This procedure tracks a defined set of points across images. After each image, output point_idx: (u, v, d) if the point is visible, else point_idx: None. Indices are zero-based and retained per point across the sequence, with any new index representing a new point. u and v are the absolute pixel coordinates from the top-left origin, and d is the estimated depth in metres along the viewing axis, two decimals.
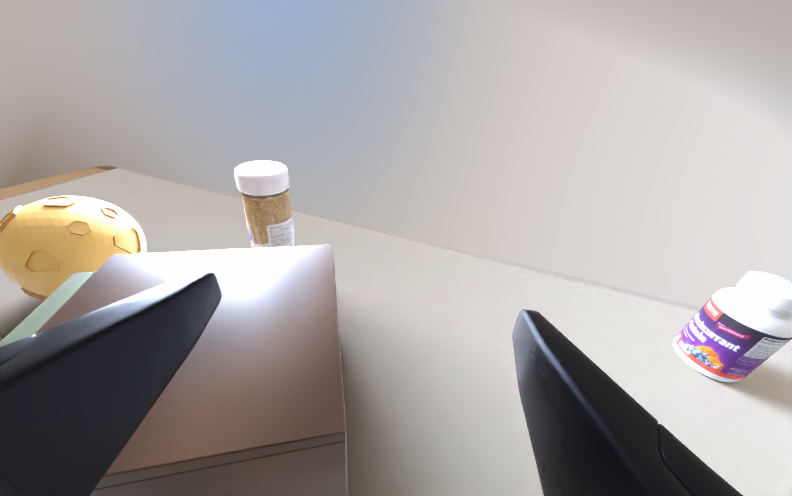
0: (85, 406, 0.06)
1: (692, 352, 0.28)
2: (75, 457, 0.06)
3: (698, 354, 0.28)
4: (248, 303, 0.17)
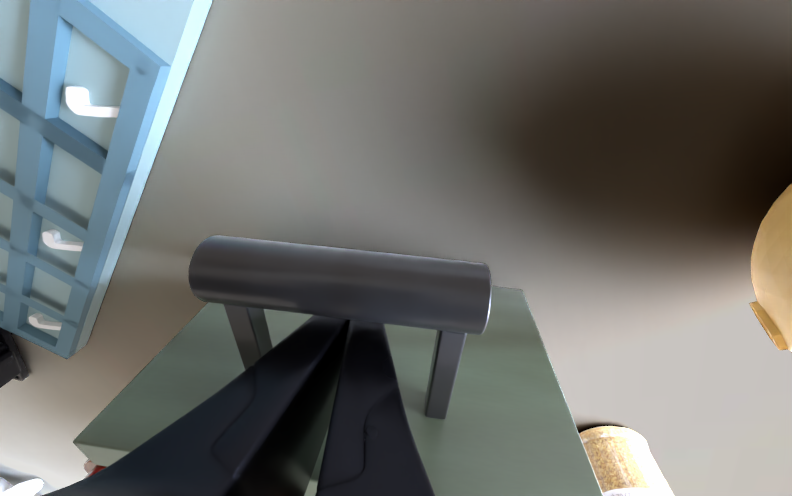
0: (300, 441, 0.06)
1: None
2: (290, 495, 0.06)
3: None
4: None
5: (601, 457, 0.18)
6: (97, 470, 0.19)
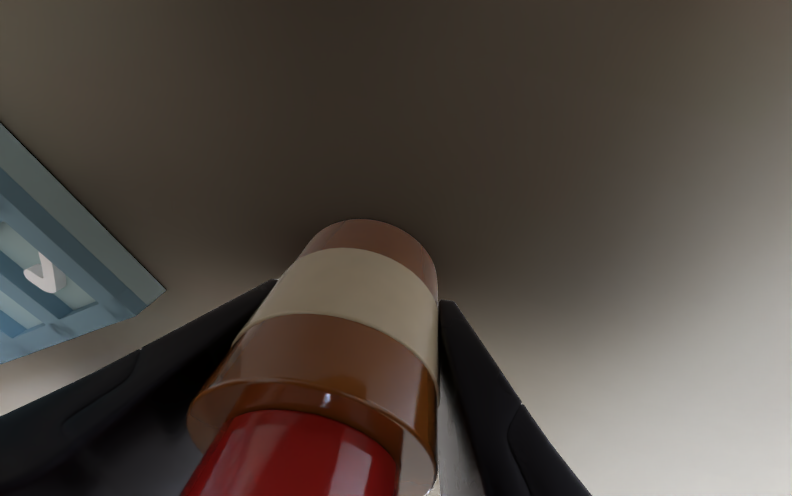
0: None
1: None
2: (179, 475, 0.06)
3: None
4: None
5: None
6: None
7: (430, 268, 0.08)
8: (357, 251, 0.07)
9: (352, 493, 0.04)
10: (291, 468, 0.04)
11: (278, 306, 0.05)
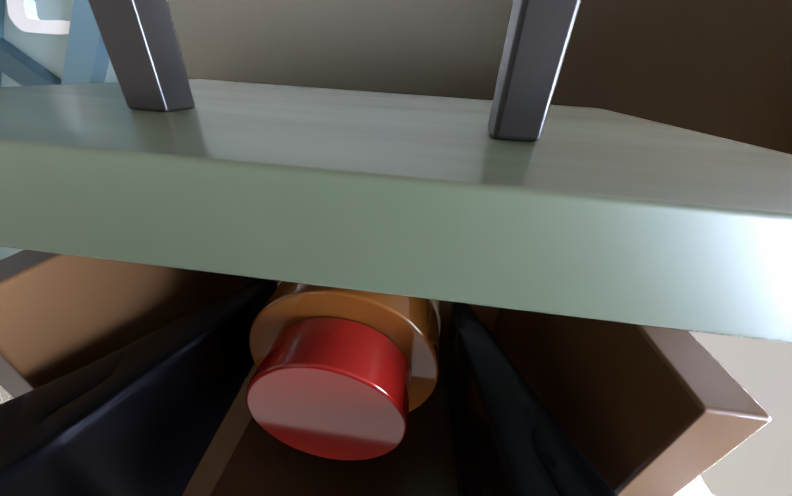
0: (174, 420, 0.06)
1: None
2: (164, 472, 0.06)
3: None
4: None
5: None
6: None
7: None
8: None
9: (379, 366, 0.05)
10: (337, 346, 0.05)
11: None
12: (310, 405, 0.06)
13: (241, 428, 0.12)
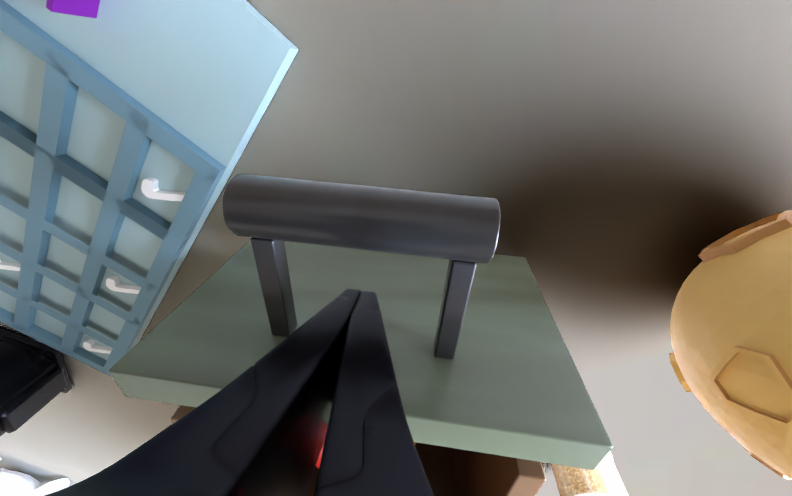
0: (302, 441, 0.06)
1: None
2: (291, 495, 0.06)
3: None
4: None
5: None
6: None
7: None
8: None
9: None
10: None
11: None
12: None
13: None
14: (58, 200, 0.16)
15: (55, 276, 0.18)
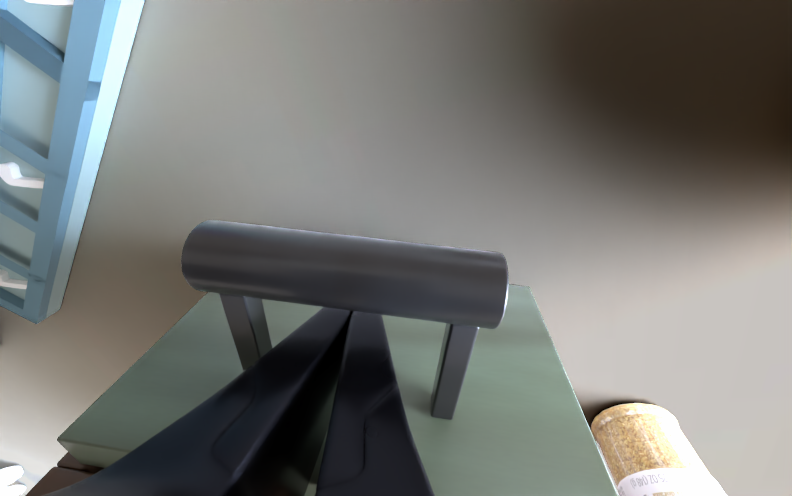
0: (301, 441, 0.06)
1: None
2: (290, 495, 0.06)
3: None
4: None
5: (628, 436, 0.16)
6: None
7: None
8: None
9: None
10: None
11: None
12: None
13: None
14: None
15: None
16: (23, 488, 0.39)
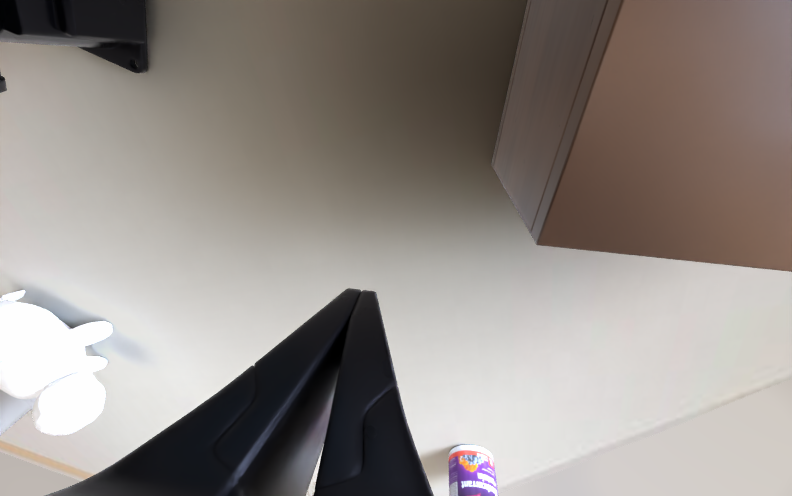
0: (302, 441, 0.06)
1: (476, 457, 0.34)
2: (291, 495, 0.06)
3: (473, 459, 0.34)
4: None
5: None
6: None
7: None
8: None
9: None
10: None
11: None
12: None
13: None
14: None
15: None
16: (105, 361, 0.35)
